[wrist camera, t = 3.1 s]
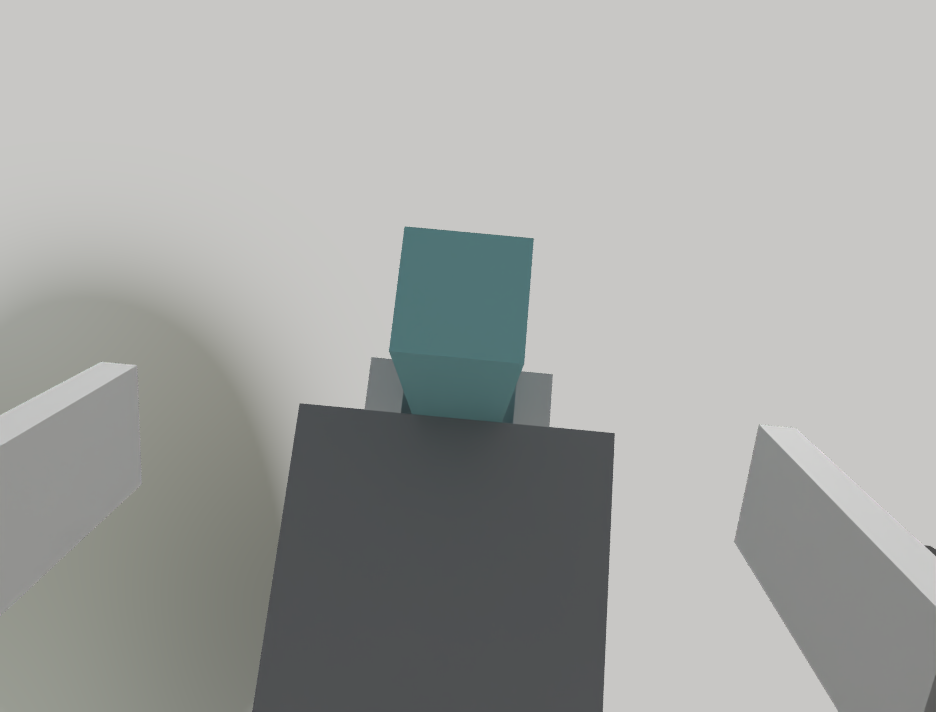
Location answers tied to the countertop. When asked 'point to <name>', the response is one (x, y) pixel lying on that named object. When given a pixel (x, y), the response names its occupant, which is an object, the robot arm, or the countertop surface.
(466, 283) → the teal rectangular bar
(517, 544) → the block
